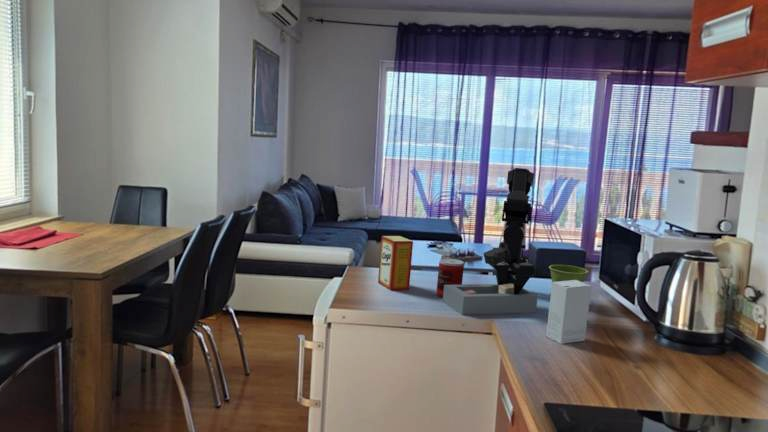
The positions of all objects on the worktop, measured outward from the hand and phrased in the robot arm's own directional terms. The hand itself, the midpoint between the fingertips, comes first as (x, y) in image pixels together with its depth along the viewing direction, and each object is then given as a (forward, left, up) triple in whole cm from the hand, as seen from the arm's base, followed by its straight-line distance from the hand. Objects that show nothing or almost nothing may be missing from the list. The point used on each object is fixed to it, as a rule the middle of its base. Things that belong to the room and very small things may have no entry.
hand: (507, 291), depth 181 cm
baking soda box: (+27, -25, -5) cm, 37 cm away
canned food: (+13, -13, -5) cm, 19 cm away
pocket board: (+6, 0, -5) cm, 7 cm away
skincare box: (0, +29, -5) cm, 29 cm away
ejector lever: (+5, 0, -2) cm, 6 cm away
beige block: (0, 0, -1) cm, 1 cm away
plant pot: (-22, -2, -5) cm, 23 cm away
